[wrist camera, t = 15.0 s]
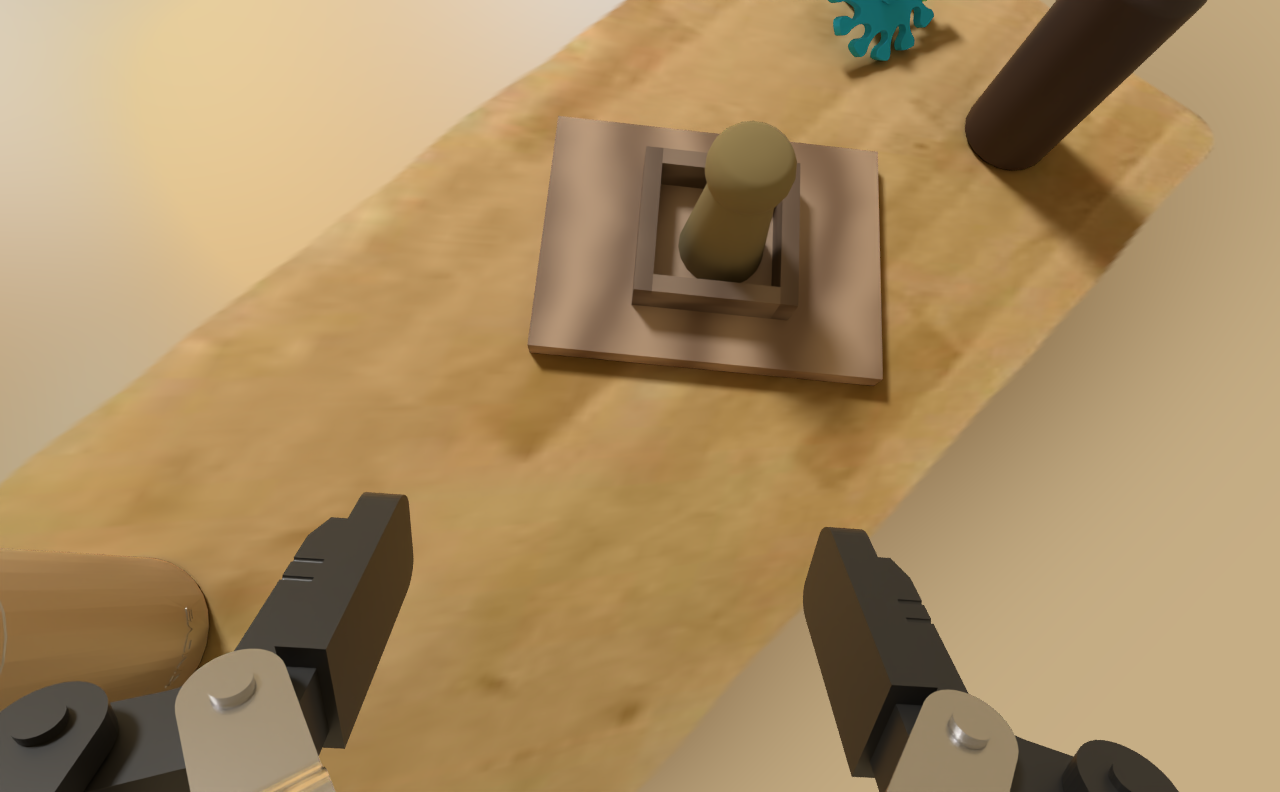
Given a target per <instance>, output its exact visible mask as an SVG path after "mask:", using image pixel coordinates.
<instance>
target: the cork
mask: <svg viewBox="0 0 1280 792" xmlns="http://www.w3.org/2000/svg"><path fill="white" fill-rule="evenodd" d="M796 168H797V159H796V155H795V151H794V148H793V147H792V145H791V143H790V142H789V140H788V139H787V137H786V136H785V135H784V134H783V133H782V132H781V131H779V130H778V129H777V128H775V127H773V126H771V125H769V124H767V123H763V122H757V121H747V122H741V123H738V124H736V125H733V126H731V127H729V128H726V129H725V130H724V131H723V132H722V133H721V134H719V135H718V136H717V137H716V139H715V140H714V142H713V143H712V145H711V147H710V149H709V151H708V153H707V157H706V164H705V177H706V181H707V184H706V186H705V188H704V190H703V192H702V194H701V196H700V197H699V199H698V201H697V203H696V205H695V207H694V209H693V211H692V212H691V214H690V216H689V218H688V220H687V222H686V224H685V226H684V228H683V229H682V231H681V233H680V237H679V244H678V248H679V253H680V258H681V260H682V262H683V263H684V265H685V267H686V268H687V270H688V271H689V272H690V273H692V274H693V275H694V276H695V277H696V278H697V279H706V280H716V281H726V282H736V283H741V282H743V281H745V280H747V279H748V278H749V277H751V276H752V275H753V274H754V273H755V272H756V271H757V269H758V267H759V265H760V262H761V260H762V257H763V252H764V248H765V244H766V240H767V235H768V231H769V227H770V223H771V219H772V214H773V210H774V208H775V207H776V206H777V205H778V204H779V203H780V202H781V201H782V200H783V199H784V198H785V197H787V195H788V193H789V191H790V189H791V187H792V185H793V183H794V181H795V178H796Z"/></svg>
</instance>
